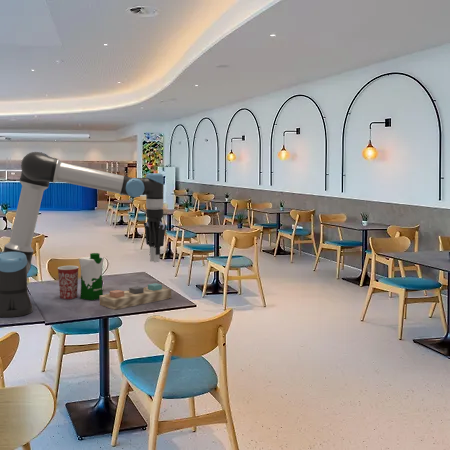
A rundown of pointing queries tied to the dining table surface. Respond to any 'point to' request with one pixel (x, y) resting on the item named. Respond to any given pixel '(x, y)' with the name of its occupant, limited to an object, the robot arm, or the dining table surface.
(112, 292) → the terracotta button
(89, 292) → the milk carton
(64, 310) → the dining table surface
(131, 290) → the charcoal button
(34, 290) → the dining table surface
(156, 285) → the teal button
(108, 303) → the oak button console
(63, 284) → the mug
